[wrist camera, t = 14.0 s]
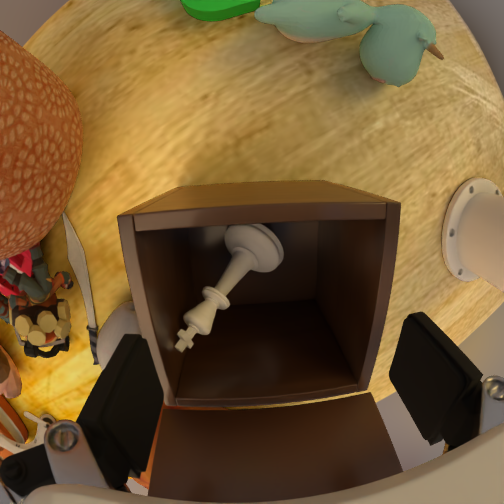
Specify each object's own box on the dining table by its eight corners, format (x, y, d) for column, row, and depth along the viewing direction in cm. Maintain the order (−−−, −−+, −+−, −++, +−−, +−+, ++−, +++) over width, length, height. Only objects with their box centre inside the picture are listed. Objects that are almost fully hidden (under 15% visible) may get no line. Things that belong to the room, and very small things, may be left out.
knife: (111, 362, 28) (110, 366, 27) (94, 362, 28) (92, 366, 27) (80, 198, 23) (77, 199, 22) (59, 201, 22) (56, 202, 21)
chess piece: (232, 256, 25) (163, 348, 19) (223, 212, 21) (134, 312, 15) (284, 274, 23) (219, 380, 17) (283, 228, 19) (200, 351, 13)
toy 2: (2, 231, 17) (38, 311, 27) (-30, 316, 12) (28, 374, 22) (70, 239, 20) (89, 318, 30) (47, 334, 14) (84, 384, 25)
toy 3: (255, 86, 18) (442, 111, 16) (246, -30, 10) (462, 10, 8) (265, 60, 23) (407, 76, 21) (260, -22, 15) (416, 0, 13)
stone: (167, 326, 24) (152, 297, 27) (111, 318, 20) (104, 287, 24) (142, 394, 25) (130, 363, 29) (95, 392, 22) (88, 359, 25)
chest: (176, 187, 22) (116, 215, 11) (324, 180, 23) (401, 202, 11) (191, 309, 26) (165, 405, 15) (320, 301, 27) (367, 390, 15)
